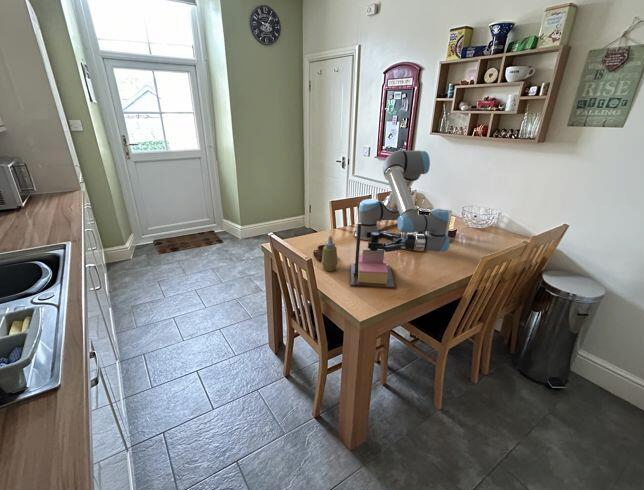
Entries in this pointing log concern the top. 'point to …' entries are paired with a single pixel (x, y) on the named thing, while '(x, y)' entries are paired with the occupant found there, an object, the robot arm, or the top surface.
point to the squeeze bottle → (329, 255)
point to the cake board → (374, 285)
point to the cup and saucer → (319, 252)
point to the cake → (372, 272)
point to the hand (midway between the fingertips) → (367, 239)
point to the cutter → (373, 252)
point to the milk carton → (448, 221)
